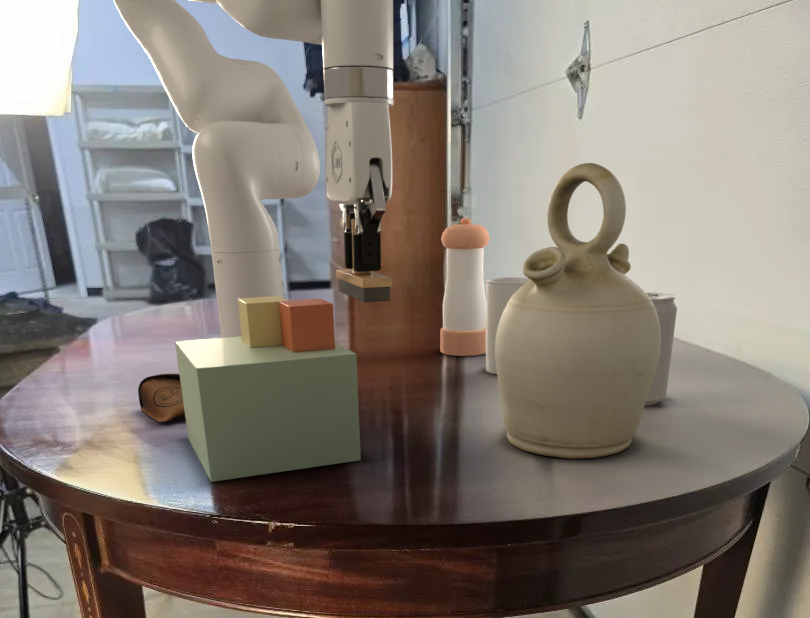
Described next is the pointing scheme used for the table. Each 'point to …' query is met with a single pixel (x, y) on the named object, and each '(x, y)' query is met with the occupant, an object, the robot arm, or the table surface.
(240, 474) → the green box
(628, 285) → the jug
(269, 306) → the mustard yellow block
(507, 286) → the mug
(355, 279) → the brush
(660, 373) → the beverage can
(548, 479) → the table surface
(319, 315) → the terracotta block
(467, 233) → the salt shaker
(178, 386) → the sunglasses case
